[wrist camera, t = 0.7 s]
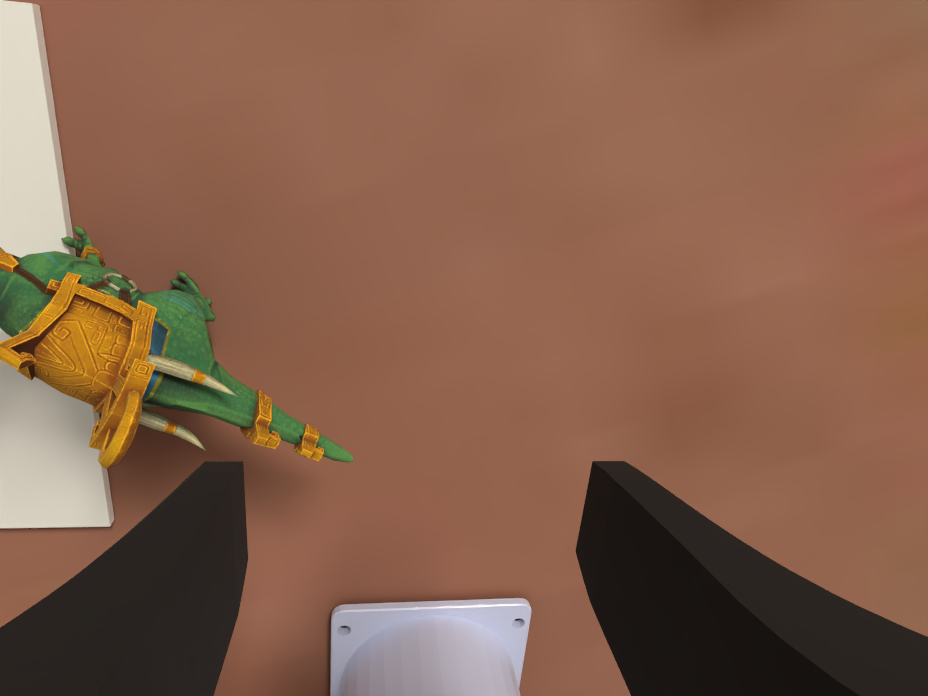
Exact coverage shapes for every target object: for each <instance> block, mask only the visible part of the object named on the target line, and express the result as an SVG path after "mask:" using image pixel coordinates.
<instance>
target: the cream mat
mask: <svg viewBox="0 0 928 696" xmlns="http://www.w3.org/2000/svg"><path fill="white" fill-rule="evenodd" d="M67 236H68V237H71V238H73V232H72V225H71V218H70V211H69V204H68V197H67V191H66V184H65V177H64V170H63V163H62V156H61V149H60V143H59V136H58V129H57V122H56V115H55V108H54V102H53V95H52V88H51V81H50V74H49V67H48V60H47V54H46V47H45V40H44V33H43V26H42V19H41V12H40V6H39V5H36V4H32V3H22V2H13V1H3V0H0V247H1V248H2V249H3V250H4V251H5V252H6V253H10V254H12V255H15V256H17V257H20V258H22V257H24V256H26V255H28V254H36V253H43V252H51V251H57V252H62V253H67V254H71V255H74V256H76V252H75V248H72V247H69V246H68V245H66V244H64V243H63V242H62V240H61V238H64V237H67ZM10 338H12V337H11V336H9V335H8V334H6V333H5V332H4V331H3V330H2V329H1V328H0V342H3V341H5V340H8V339H10ZM98 420H100V417H99V413H98V412H95V411H94V407H93V405H90V404H88V403H86V402H84V401H81V400H79V399H76V398H73V397H71V396H68V395H66V394H63V393H61V392H60V391H58V390H56V389H55V388H53V387H51V386H50V385H48V384H46V383H45V382H43V381H41V380H40V379H38V378H36V377H34V378H33V380H32V381H31V380H30V379H28V378H27V377H25V376H24V375H22V374H21V373H19V372H18V371H17V369H15V368H14V367H12V366H10V365H9V364H7V363H5V362H3V361H1V360H0V528H50V527H110V526H111V524H112V523H113V521H114V513H113V506H112V499H111V492H110V485H109V478H108V471H107V469H104V468H103V467H102V466H101V464H100V463H99V462H98V459H99V454H100V451H101V450H98V449H94V448H91V447H88V446H89V443H90V439H91V435H92V431H93V427H94V425H95V424H96V423H97V421H98Z"/></svg>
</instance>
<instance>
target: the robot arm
mask: <svg viewBox="0 0 928 696" xmlns="http://www.w3.org/2000/svg"><path fill="white" fill-rule="evenodd" d="M576 554H577V558H578V561H579V565H580V569H581V572H582V576H583V580H584V583H585V586H586V589H587V593H588V596H589V599H590V602H591V605H592V607H593V609H594V612H595V614H596V617H597V619H598V621H599V623H600V626H601V628H602V630H603V633H604V635H605V637H606V640H607V642H608V644H609V646H610V649H611V651H612V653H613V655H614V658H615V660H616V662H617V664H618V667H619V669H620V671H621V674H622V676H623V678H624V680H625V683H626V685H627V687H628V689H629V692H630V694H631V696H928V637H927V636H924V635H922V634H919V633H917V632H915V631H912V630H910V629H907V628H905V627H903V626H901V625H898V624H896V623H894V622H892V621H890V620H888V619H885V618H883V617H881V616H879V615H877V614H874V613H872V612H870V611H868V610H866V609H863V608H861V607H859V606H857V605H855V604H853V603H851V602H849V601H847V600H845V599H843V598H841V597H839V596H837V595H835V594H833V593H831V592H829V591H827V590H825V589H823V588H822V587H820V586H818V585H816V584H814V583H812V582H810V581H809V580H807V579H805V578H803V577H801V576H799V575H797V574H796V573H794V572H792V571H790V570H788V569H787V568H785V567H783V566H781V565H780V564H778V563H776V562H775V561H773V560H771V559H770V558H768V557H766V556H765V555H763V554H762V553H760V552H758V551H757V550H755V549H754V548H752V547H750V546H749V545H747V544H746V543H744V542H742V541H741V540H739V539H738V538H736V537H735V536H733V535H732V534H730V533H729V532H727V531H725V530H724V529H722V528H721V527H719V526H718V525H717V524H715V523H714V522H712V521H711V520H709V519H708V518H706V517H705V516H703V515H702V514H700V513H699V512H698V511H696V510H695V509H693V508H692V507H690V506H689V505H688V504H686V503H685V502H683V501H682V500H681V499H679V498H678V497H676V496H675V495H674V494H672V493H671V492H669V491H668V490H667V489H665V488H664V487H662V486H661V485H659V484H658V483H657V482H655V481H654V480H652V479H651V478H649V477H648V476H647V475H645V474H644V473H642V472H641V471H639V470H638V469H636V468H635V467H633V466H631V465H630V464H628V463H626V462H624V461H593V462H592V467H591V473H590V478H589V483H588V489H587V494H586V499H585V504H584V510H583V515H582V520H581V526H580V531H579V536H578V541H577V547H576ZM247 562H248V549H247V530H246V510H245V491H244V472H243V462H204V463H203V464H202V465H201V466H200V467H199V468H198V469H197V470H195V471H194V472H193V473H192V474H191V475H190V476H189V477H188V478H187V479H186V480H185V481H184V482H183V483H181V484H180V485H179V486H178V487H177V488H176V489H175V490H174V491H173V492H172V493H171V494H170V495H169V496H168V497H167V498H166V499H165V500H163V501H162V502H161V503H160V504H159V505H158V506H157V507H156V508H155V509H154V510H153V511H152V512H151V513H149V514H148V515H147V516H146V517H145V518H144V519H143V520H142V521H140V522H139V523H138V524H137V525H136V526H135V527H134V528H133V529H131V530H130V531H129V532H128V533H127V534H126V535H125V536H124V537H122V538H121V539H120V540H119V541H118V542H117V543H115V544H114V545H113V546H112V547H110V548H109V549H108V550H107V551H106V552H104V553H103V554H102V555H101V556H99V557H98V558H97V559H96V560H94V561H93V562H92V563H91V564H90V565H88V566H87V567H86V568H85V569H83V570H82V571H81V572H80V573H78V574H77V575H76V576H74V577H73V578H72V579H70V580H69V581H68V582H66V583H65V584H64V585H62V586H61V587H59V588H58V589H57V590H55V591H54V592H52V593H51V594H50V595H48V596H47V597H45V598H44V599H42V600H41V601H40V602H38V603H37V604H35V605H34V606H32V607H31V608H29V609H28V610H26V611H25V612H23V613H22V614H20V615H19V616H17V617H16V618H15V619H13V620H11V621H10V622H8V623H7V624H5V625H4V626H2V627H1V628H0V696H213V695H214V692H215V689H216V685H217V682H218V679H219V676H220V672H221V669H222V666H223V663H224V660H225V656H226V653H227V650H228V646H229V643H230V640H231V637H232V633H233V630H234V627H235V623H236V620H237V616H238V612H239V607H240V602H241V596H242V591H243V585H244V579H245V574H246V568H247ZM518 618H520V619H519V620H517V621H514V620H515V619H518ZM530 618H531V607H530V604H529V602H528V601H527V600H526V599H523V598H506V599H478V600H451V601H423V602H396V603H368V604H344V605H339V606H337V607H336V608H335V609H334V610H333V611H332V616H331V686H330V696H520V692H519V686H520V679H521V673H522V667H523V661H524V655H525V649H526V643H527V637H528V631H529V624H530ZM340 626H348V627H346V628H341V627H340Z"/></svg>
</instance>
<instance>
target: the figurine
mask: <svg viewBox="0 0 928 696" xmlns="http://www.w3.org/2000/svg"><path fill="white" fill-rule="evenodd" d="M74 230H75V233H76V234H77V235H78V236H79V237H81V238H82V241H78V240H76V239H74V238H71V237H68V236H67V237H64V238H61V240H62V242H63V243H64V244H66V245H68V246H69V247H72V248H76V249H78V250H79V251H81V252H82V254H81V256H80V257H77V256H74V255H71V254H67V253H62V252H57V251H51V252H43V253H36V254H28V255H26V256H24V257H22V258H20V257H17V256H15V255H12V254H10V253H6V252H5V251H4V250H3V249H2V248H1V247H0V328H1V329H2V330H3V331H4V332H5V333H6V334H8V335H9V336H11V337H12V338H10V339H8V340H5V341H3V342H0V360H1V361H3V362H5V363H7V364H9V365H10V366H12V367H14V368H15V369H17V371H18V372H19V373H21V374H22V375H24V376H25V377H27V378H28V379H30V380H31V381H32V380H33V378H34V377H36V378H38V379H40V380H41V381H43V382H45V383H46V384H48V385H50V386H51V387H53V388H55V389H56V390H58V391H60V392H61V393H63V394H66V395H68V396H71V397H73V398H76V399H79V400H81V401H84V402H86V403H88V404H90V405H93V407H94V411H95V412H98V413H101V414H102V415H101V419H100V420H98V421H97V423H96V424H95V425H94V427H93V431H92V435H91V439H90V443H89V446H88V447H91V448H94V449H98V450H101V451H100V454H99V459H98V462H99V463H100V464H101V466H102V467H103V468H104V469H107V468H109V467H112V466H114V465H116V464H117V463H119V462H120V461H121V460H122V459H123V457H124V455H125V454H126V452H127V451H128V449H129V447H130V444H131V442H132V440H133V438H134V435H135V433H136V430H137V427H138V424H139V423H140V424H142V425H144V426H147V427H149V428H152V429H155V430H159V431H162V432H166V433H169V434H173V435H176V436H178V437H181V438H183V439H185V440H187V441H189V442H191V443H193V444H195V445H196V446H198V447H200V448H202V449H203V450H205V449H204V447H203V446H202V444H201V443H200V442H199V440H198V439H197V438H196V436H195V435H194V434H192V433H191V432H190V431H189V430H187V429H186V428H185V427H183V426H181V425H179V424H177V423H175V422H173V421H171V420H169V419H167V418H165V417H163V416H161V415H159V414H156V413H154V412H152V411H150V410H147V409H145V408H143V407H142V406H152V407H164V408H169V409H175V410H181V411H187V412H193V413H199V414H204V415H209V416H212V417H215V418H217V419H220V420H222V421H225V422H227V423H230V424H233V425H235V426H239V427H240V429H241V432H242V433H243V435H244V436H245V438H249V439H251V443H254V444H257V445H261V446H266V447H270V448H274V449H276V447H277V446H278V444H279V442H280V440H283V441H286V442H289V443H292V444H295V446H294V451H295V452H297V453H299V454H301V455H303V456H305V457H306V458H307V457H309V458H312V459H314V460H316V461H319V460H320V459H321V457H322V456H324V457H326V458H329V459H331V460H335V461H342V462H353V456H352V455H351V454H350V453H348V452H347V451H346V450H344V449H343V448H342V447H340V446H339V445H338V444H336V443H334V442H333V441H331V440H329V439H328V438H326V437H324V436H323V435H321V434H319V430H317V429H316V428H314V427H312V426H310V425H309V424H307V423H306V424H305V425H304V424H303V423H301V422H299V421H298V420H296V419H295V418H293V417H291V416H290V415H288V414H287V413H285V412H284V411H282V410H281V409H280V408H278V407H277V406H276V405H274V404H273V403H272V399H271V398H270V397H268V396H267V395H266V394H265V393H263V392H262V391H261V390H258V391H256V392H255V391H253V390H252V389H250V388H248V387H247V386H245V385H244V384H242V383H241V382H239V381H237V380H236V379H234V378H233V377H232V376H231V375H230V374H229V373H228V372H227V371H226V370H225V369H224V368H223V367H222V366H221V365H219V364H218V363H217V362H216V361H215V359H214V354H213V349H212V344H211V340H210V337H209V333H208V330H207V326H206V323H205V321H214V320H215V318H216V317H215V315H214V314H213V312H212V310H211V309H210V307H209V305H211V304H212V303H211V299H209V298H203V297H202V295H201V293H200V291H199V289H198V286H197V285H196V284H195V282H194V281H193V280H192V279H191V278H189V277H188V275H187V274H186V273H185V272H183V271H177V272H178V277H179V278H181V279H182V280H184V281H185V283H186V284H184V283H182V282H181V281H179V280H177V279H173V280H170V281H171V283H172V285H173V286H174V287H176V288H178V289H179V290H181V291H179V290H167V291H158V292H149V293H142V292H141V291H140V290H138V289H137V287H136V285H135V282H134V281H132V280H131V279H129V278H127V277H126V276H124V275H121V274H120V273H119V272H118V271H117V270H115V269H110V268H105V267H103V266H105V263H104V262H103V260H104V259H103V257H102V256H101V254H100V252H99V250H98V249H97V248H95V247H93V245H92V243H91V241H90V239H89V238H88V237H87V235H86V233H85V231H84V230H83V229H81V228H80V227H75V226H74ZM205 451H206V450H205Z"/></svg>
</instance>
